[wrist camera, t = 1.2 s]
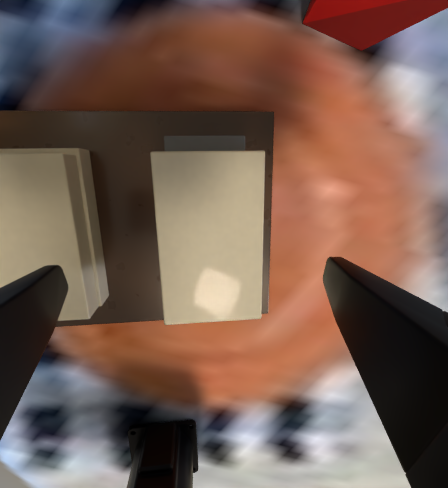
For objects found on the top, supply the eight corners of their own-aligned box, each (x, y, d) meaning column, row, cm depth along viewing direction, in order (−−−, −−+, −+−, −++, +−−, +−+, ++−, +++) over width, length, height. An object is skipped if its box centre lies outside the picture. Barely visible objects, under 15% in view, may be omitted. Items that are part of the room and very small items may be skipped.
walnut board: (265, 306, 25) (268, 313, 24) (6, 322, 23) (-4, 330, 22) (270, 114, 20) (274, 111, 19) (-47, 113, 19) (-63, 110, 17)
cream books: (109, 295, 22) (92, 319, 18) (29, 300, 21) (-3, 325, 18) (89, 150, 19) (65, 145, 15) (-4, 150, 18) (-50, 146, 15)
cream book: (254, 302, 19) (261, 319, 17) (167, 307, 19) (164, 325, 16) (256, 152, 16) (265, 150, 14) (156, 153, 16) (149, 151, 14)
